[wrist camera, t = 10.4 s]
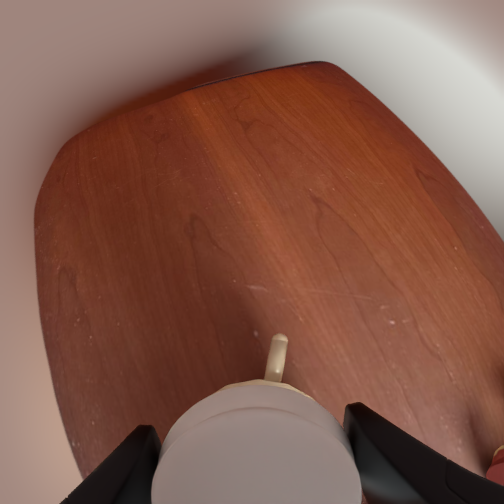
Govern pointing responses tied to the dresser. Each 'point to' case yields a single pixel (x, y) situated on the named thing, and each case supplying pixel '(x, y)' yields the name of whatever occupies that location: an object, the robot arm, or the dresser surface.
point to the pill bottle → (256, 452)
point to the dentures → (497, 467)
